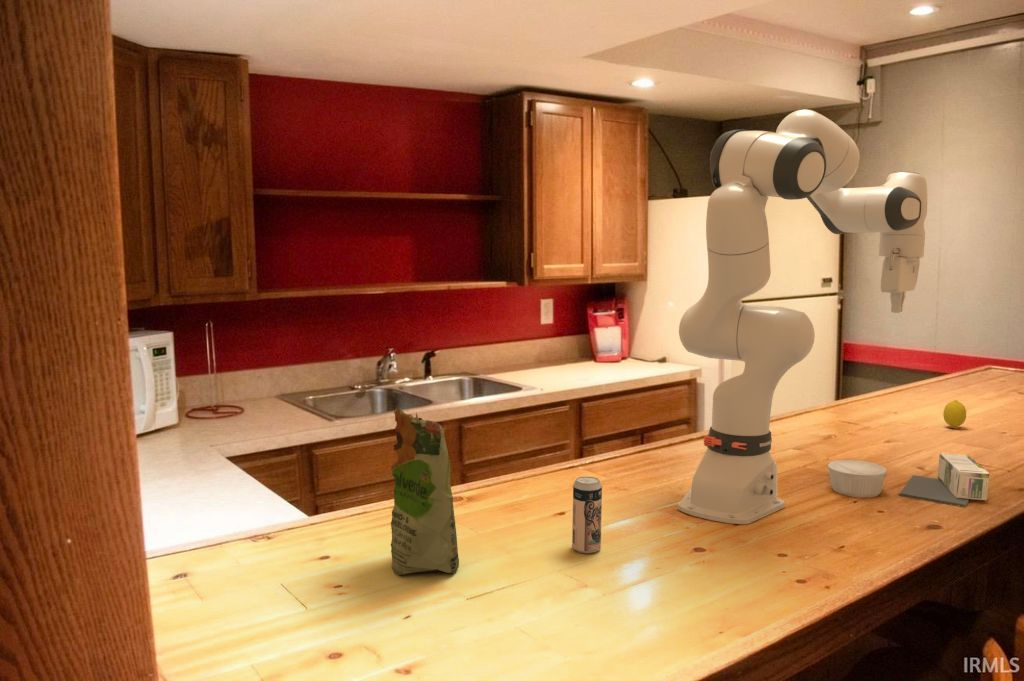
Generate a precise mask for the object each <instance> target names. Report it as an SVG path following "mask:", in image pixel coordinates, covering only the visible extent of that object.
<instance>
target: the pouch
mask: <svg viewBox="0 0 1024 681" xmlns="http://www.w3.org/2000/svg"><path fill="white" fill-rule="evenodd" d="M393 414H394V421H395V422H396V426H395V427H394V430H395V436H396V443H395V444H393V446H392V447H394V448H393V451H395V453H396V454H397V461H394V462H393V463H391V469H390V470H391V473H390V474H391V476H392V477H393V479H394V486H393V487H394V488H393V497H394V500H393V501H394V503H393V504H394V505H393V507H392V508H393V509H392V510H391V522H390V526H391V529H390V530H391V541H390V542H391V543H390V547H391V550H390V552H391V569H392V571H393V572H394V573H396V574H397V575H398V576H402V575H409V574H412V573H414V574H415V573H428V572H430V573H431V572H442V573H446V574H447V573H448V574H454V573H455V572H456V571H457V570H458V568H459V566H460V559H459V551H458V537H457V536H458V535H457V528H456V518H455V516H456V515H455V509H454V496H453V494H452V486H451V485H452V484H451V471H452V470H451V461H450V456H449V451H448V447H447V446H448V445H447V442H446V438H445V432H446V430H444V428H443V426H442V424H440V423H439V422H436V421H434V420H429V419H426V420H425V419H423V418H422V417H419V416H418V413H417V412H416V413H415V417H414V416H413V415H412V414H411V413H410V414H408V413H406V412H404V411H403V410H402V408H400V407H397V408H395V410H394V411H393Z"/></svg>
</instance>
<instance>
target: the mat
mask: <svg viewBox="0 0 1024 681" xmlns="http://www.w3.org/2000/svg"><path fill="white" fill-rule="evenodd" d="M898 496H900V497H905V498H910V499H916V500H923V501H927V502H933V503H938V502H939V503H940V504H944V503H946V504H945V505H950V504H952V505H951V506H955V505H960V506H959V507H961V506H967V507H968V504H969V502H970V500H969V499H964V498H956V497H955V496H954V495H953V494H952V493H951V492H950V491H949V489H948V488H947V487H946V486H945V485H944V484H943V483H942V482H941V481H940V480H939V479H938V478H935V477H929V476H923V475H917V474H912V475H911V477H910V478H909V480H908V481H907V482H906V483H905V484H904V486H903V487H902V489H901V490H900V491H899V494H898ZM939 503H938V504H939Z"/></svg>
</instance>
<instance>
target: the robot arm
mask: <svg viewBox="0 0 1024 681" xmlns="http://www.w3.org/2000/svg"><path fill="white" fill-rule="evenodd" d="M778 124H779V125H778V126H777V128H776V130H775V132H774V131H767V130H766V131H765V130H749V129H744V128H741V129H733V130H729V131H725V132H724V133H722V134H721V135H720V136H719V137H718V138H717V139H716V141H715V143H714V144H713V147H712V149H711V152H710V156H709V169H710V174H711V176H710V177H711V182H712V185H713V186H714V187H713V188H715V189H714V191H713V192H712V193H711V195H710V196H709V198H708V202H707V209H706V217H705V218H706V219H705V220H706V221H705V223H706V224H705V238H706V249H707V264H708V279H707V286H706V289H705V291H704V293H703V294H702V296H701V297H700V299H699V300H698V301H697V302H696V303H694V304H693V305H691V306H690V307H689V308H688V309H686V311H685V312H684V313H683V315H682V317H681V319H680V322H679V324H678V335H679V340H680V343H681V344H682V346H683V348H684V349H685V350H686V351H687V352H688V353H691V354H693V355H698V356H701V357H705V358H707V359H715V360H716V359H717V360H729V361H741V362H744V367H743V368H744V369H743V372H742V373H741V374H739V375H736V376H733V377H731V378H729V379H726V380H725V381H722V382H721V383H720V384H719V385H717V386H716V388H715V389H714V392H713V394H712V408H711V410H712V414H711V426H710V427H709V432H708V433H707V434H706V435H705V436H704V438H703V445H704V446H705V447H706V450H705V451H704V454H703V455H702V458H701V460H700V462H699V464H698V466H697V468H696V470H695V473H694V475H693V478H692V481H691V482H692V483H691V487H690V489H689V490H688V491H687V492H686V494H685V495H684V497H683V498H682V499H681V501H680V502H679V504H678V506H677V509H678V511H680V512H682V513H684V514H687V515H690V516H693V517H696V518H701V519H705V520H708V521H714V522H722V523H724V524H725V523H727V524H737V525H747V524H751V523H753V522H755V521H757V520H759V519H762V518H764V517H766V516H769V515H771V514H773V513H775V512H777V511H780V510H782V509H785V507H786V503H785V501H784V500H783V499H781V498H780V497H778V496H779V494H778V493H779V490H778V489H779V488H778V482H779V481H778V479H779V478H778V476H779V475H778V473H779V472H778V463H777V462H776V461H775V459H774V458H773V456H772V454H771V453H770V450H772V442H773V441H772V432H771V430H770V425H771V424H770V423H771V412H772V411H771V410H772V404H773V398H774V393H775V390H776V388H777V386H778V384H779V382H780V380H781V378H783V376H784V375H785V374H786V373H787V372H788V371H789V370H790V369H791V368H792V367H794V366H795V365H797V364H798V363H800V362H801V361H803V360H804V359H805V358H806V357H808V355H809V354H810V352H811V351H812V349H813V346H814V344H815V337H816V336H815V328H814V325H813V322H812V321H811V319H810V317H809V316H808V315H807V314H806V313H805V311H804V312H802V311H799V310H795V309H794V308H793V309H791V308H788V307H784V306H771V305H752V304H751V305H750V304H745V303H743V302H742V299H745V298H747V297H750V296H752V295H754V294H756V293H758V292H759V291H761V290H762V289H764V287H765V286H766V285H767V284H768V282H769V281H770V278H771V271H772V270H771V254H770V236H769V227H768V221H767V220H768V219H767V216H766V205H767V203H768V199H769V197H772V198H773V197H775V198H781V199H783V200H789V201H791V200H803V199H807V200H808V202H810V205H812V207H814V209H815V210H816V211H817V212H818V214H819V215H820V218H821V220H822V222H823V224H824V226H825V228H826V229H827V230H828V231H830V233H833V234H835V235H843V234H844V235H845V234H855V233H856V234H857V233H858V234H863V233H865V234H866V233H867V234H870V233H875V234H876V233H879V243H878V244H879V245H878V257H884V259H883V263H882V270H881V278H880V292H881V293H887V294H888V293H889V294H890V296H889V297H890V303H891V304H890V305H891V307H890V308H891V309H890V311H891V312H892V314H893V313H894V314H895V313H897V314H900V313H902V312H903V310H904V309H903V308H904V302H905V298H906V293H907V292H909V291H910V292H911V291H914V290H915V289H916V286H917V281H918V277H919V270H920V264H921V258H924V254H925V245H926V244H925V243H926V240H925V239H926V229H925V220H926V217H927V214H928V185H927V180H926V177H925V176H924V175H922V174H920V173H918V172H914V171H913V172H912V171H895V172H891V173H890V174H888V176H887V178H886V181H885V183H884V184H881V185H879V186H868V187H867V186H866V187H865V186H864V187H863V186H862V187H845V186H846V185H847V184H849V182H850V181H851V180H852V178H853V177H854V176H855V174H856V173H857V170H858V168H859V164H860V150H859V148H858V146H857V144H856V141H855V140H853V138H852V137H851V136H850V135H849V134H848V133H847V132H845V130H843V129H842V128H841V127H840V126H839V125H838V124H836V123H835V122H834V121H832V119H829V118H828V117H826V116H824V115H823V114H821V113H819V112H817V111H815V110H812V109H804V108H803V109H797V110H795V111H793V112H791V113H789V114H787V115H786V116H785V117H784V118H783V119H782V120H781V122H780V123H778Z"/></svg>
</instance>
